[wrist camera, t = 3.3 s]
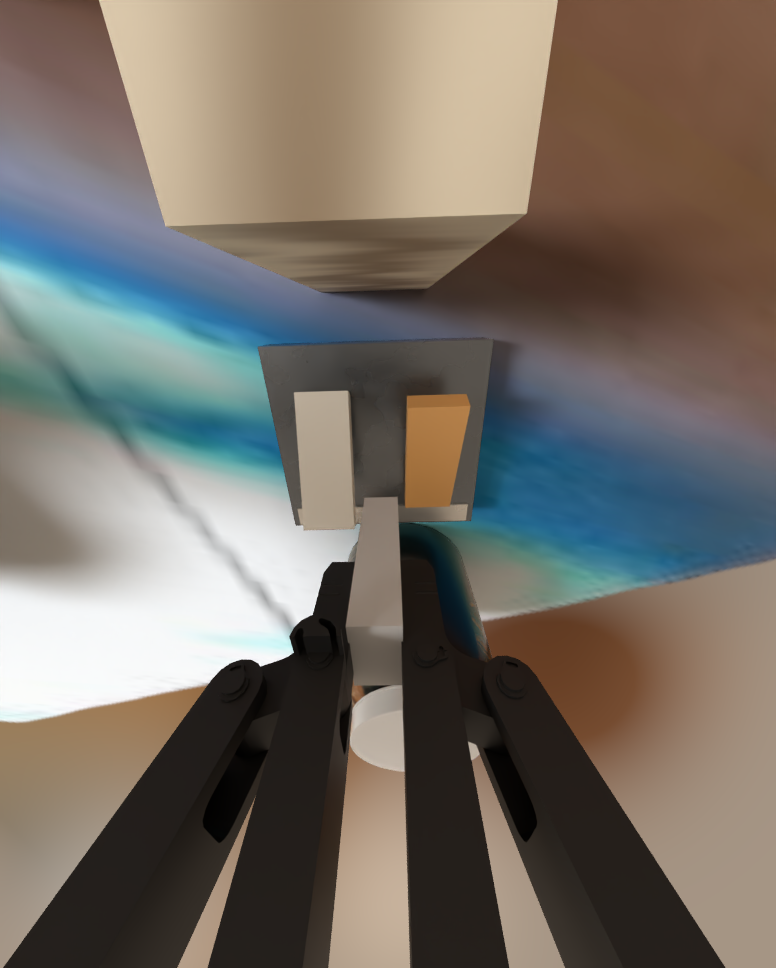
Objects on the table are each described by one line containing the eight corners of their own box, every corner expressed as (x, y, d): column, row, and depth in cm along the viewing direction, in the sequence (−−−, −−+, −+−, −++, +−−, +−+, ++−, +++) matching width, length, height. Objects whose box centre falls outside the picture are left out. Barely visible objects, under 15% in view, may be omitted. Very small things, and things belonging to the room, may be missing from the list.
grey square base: (302, 509, 28) (291, 534, 25) (270, 344, 21) (250, 348, 18) (464, 505, 28) (474, 529, 25) (482, 337, 21) (499, 340, 18)
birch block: (321, 292, 20) (166, 226, 6) (312, 213, 18) (50, -164, 4) (427, 288, 20) (526, 213, 6) (429, 208, 18) (585, -189, 4)
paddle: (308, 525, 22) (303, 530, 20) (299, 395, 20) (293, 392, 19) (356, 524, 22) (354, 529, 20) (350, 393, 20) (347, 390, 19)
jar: (457, 513, 28) (519, 680, 15) (465, 598, 34) (515, 776, 21) (335, 531, 29) (294, 704, 16) (362, 612, 35) (347, 790, 22)
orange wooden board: (404, 495, 24) (405, 507, 23) (406, 395, 17) (408, 408, 17) (447, 494, 24) (449, 506, 23) (466, 393, 17) (470, 406, 16)
